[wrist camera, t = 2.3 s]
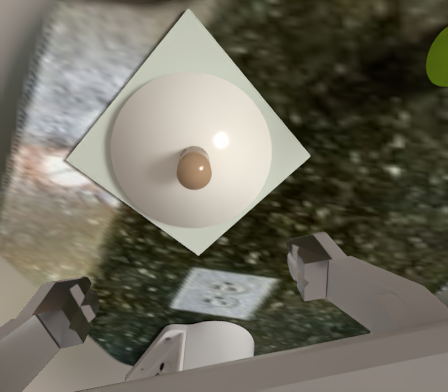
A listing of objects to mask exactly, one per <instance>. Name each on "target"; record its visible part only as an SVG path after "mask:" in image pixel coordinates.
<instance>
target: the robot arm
mask: <svg viewBox="0 0 448 392" xmlns="http://www.w3.org/2000/svg"><path fill="white" fill-rule="evenodd" d="M287 248H288V250H289V252H290V253H289V255H288V256H287V257H288V265H289V270H290V273H291V275H292V277H293V279H294V280H296V281H297V282H298V289H299V291H300V293H301V295H302V297H303V299H304V301H309V300H315V299H322V298H327V299H328V300H329V301H330V302H332V303H333V304H335V305H336V306H337V307H339V308H340V309H341V310H343V311H344V312H346V313H347V314H348V315H350V316H351V317H352V318H354V319H355V320H357V321H358V322H359V323H361V324H362V325H364V326H365V327H366V328H368V329H369V330H370V331H371V334H366V335H361V336H356V337H351V338H346V339H341V340H335V341H330V342H325V343H320V344H315V345H310V346H305V347H300V348H295V349H290V350H285V351H279V352H274V353H269V354H264V355H259V356H254V341H253V338H252V336H251V335H250V333H249V332H248V331H247V330H245V329H244V328H242V327H241V326H239V325H236V324H233V323H230V322H224V321H207V322H201V323H196V324H191V325H182V324H171V325H168V326H166V327H165V328H164V329H163V330H162V332H161V333H160V334H159V335H158V337H157V338H156V339H155V340H154V342H153V343H152V344H151V345H150V347H149V348H148V349H147V350H146V351H145V353H144V354H143V355H142V356H141V358H140V359H139V360H138V361H137V363H136V364H135V365H134V366H133V368H132V369H131V370H130V371H129V373H128V374H127V375H126V377H125V382H122V383H118V384H112V385H107V386H102V387H97V388H91V389H86V390H81V391H76V392H448V308H447V307H446V306H445V305H444V304H443V303H441V301H439V300H438V299H437V298H436V297H435V296H434V295H433V294H432V293H430V292H429V291H428V290H427V289H426V288H425V287H424V286H422V285H420V284H417V283H415V282H412V281H410V280H407V279H405V278H403V277H400V276H398V275H395V274H393V273H391V272H388V271H386V270H383V269H381V268H378V267H376V266H374V265H371V264H369V263H366V262H364V261H362V260H359V259H357V258H354V257H352V256H349V257H347V256H346V255H345V254H344V253H343V252H342V250H341V249H340V248H339V247H338V246H337V245H336V244H335V243H334V241H333V240H332V239H331V238H330V237H329V236H328V235H327V234H326V233H325V232H320V233H316V234H312V235H307V236H302V237H297V238H291V239H288V240H287ZM90 286H91V282H90V280H89V279H88V277H85V276H83V277H76V278H70V279H64V280H59V281H53V282H47V283H45V284H43V285H42V286H41V287H40V288H39V290H38V291H37V292H36V294H35V295H34V296H33V297H32V299H31V300H30V301H29V302H28V304H27V305H26V306H25V307H24V309H23V310H22V311H21V313H20V314H19V315H18V316H17V318H16V319H11V320H10V321H9V322H7V323H6V324H4V325H3V326H1V327H0V392H22V391H23V390H24V389H25V387H26V386H27V385H28V384H29V383H30V382H31V381H32V380H33V379H34V378H35V377H36V376H37V375H38V373H39V372H40V371H41V370H42V369H43V368H44V367H45V366H46V364H48V362H49V361H50V360H51V359H52V358H53V357H54V356H55V355H56V354H57V353H58V352H59V351H60V349H61V348H65V347H70V346H74V345H79V344H83V343H84V341H85V339H86V337H87V334H88V332H89V330H90V328H91V326H90V323H89V322H90V321H91V320H92V319H93V318H94V317H95V316H96V314H97V311H98V307H99V299H98V295H97V293H96V291H94V290H92V289H90Z"/></svg>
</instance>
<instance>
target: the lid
mask: <svg viewBox="0 0 448 392" xmlns="http://www.w3.org/2000/svg"><path fill="white" fill-rule="evenodd" d="M111 159H112V165H113V168H114V172H115V175H116V177H117V180H118V182H119V184H120V186H121V187H122V189H123V191H124V192H125V194H126V195H127V196H128V198H129V199H130V200H131V201H132V202H133V203H134V204H135V205H136V206H137V207H138V208H139V209H141V210H142V211H143V212H144V213H146V214H147V215H149V216H151V217H152V218H154V219H156V220H158V221H160V222H163V223H166V224H169V225H172V226H177V227H183V228H204V227H210V226H214V225H217V224H220V223H223V222H226V221H228V220H230V219H232V218H234V217H235V216H237V215H238V214H240V213H241V212H242V211H244V210H245V209H246V208H247V207H248V206H249V205H250V204H251V203H252V202H253V201H254V200H255V199H256V197H257V196H258V195H259V193H260V191H261V190H262V188H263V186H264V184H265V182H266V179H267V177H268V174H269V170H270V165H271V159H272V146H271V138H270V134H269V130H268V127H267V124H266V122H265V119H264V117H263V115H262V114H261V112H260V110H259V109H258V107H257V106H256V105H255V103H254V102H253V101H252V100H251V99H250V98H249V96H248V95H247V94H246V93H245V92H243V91H242V90H241V89H239V88H238V87H237V86H235V85H234V84H232V83H230V82H228V81H227V80H225V79H222V78H219V77H217V76H214V75H210V74H206V73H200V72H178V73H173V74H168V75H165V76H162V77H159V78H157V79H154V80H153V81H151V82H149V83H147V84H145V85H144V86H143V87H141V88H140V89H139V90H137V91H136V92H135V93H134V94H133V95H132V96H131V97H130V98H129V99H128V100H127V102H126V103H125V105H124V106H123V108H122V109H121V111H120V113H119V115H118V117H117V119H116V121H115V125H114V128H113V131H112V137H111Z"/></svg>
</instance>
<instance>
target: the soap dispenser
mask: <svg viewBox="0 0 448 392" xmlns="http://www.w3.org/2000/svg"><path fill="white" fill-rule="evenodd" d="M426 72H427V75H428V78H429V79H430V81H431V82H432V83H434V84H435V85H437V86H442V87H448V26H447V27H446V28H445V29H444V30H443V31H442V32H441V33H440V34H439V35H438V36H437V37H436V39H435V40H434V42H433V44H432V45H431V47H430V50H429V52H428V56H427V60H426Z"/></svg>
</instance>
